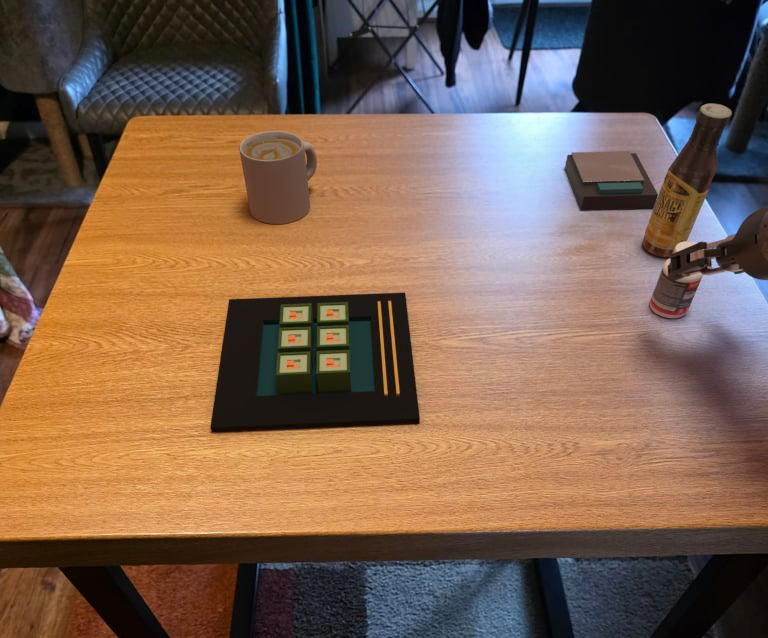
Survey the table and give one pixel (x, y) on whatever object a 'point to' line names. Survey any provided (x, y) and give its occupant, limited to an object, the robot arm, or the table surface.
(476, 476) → the table surface
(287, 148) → the coffee mug
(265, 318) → the sushi
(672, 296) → the pill bottle
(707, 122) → the sauce bottle
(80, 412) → the table surface
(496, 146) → the table surface
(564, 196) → the table surface
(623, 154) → the scale
